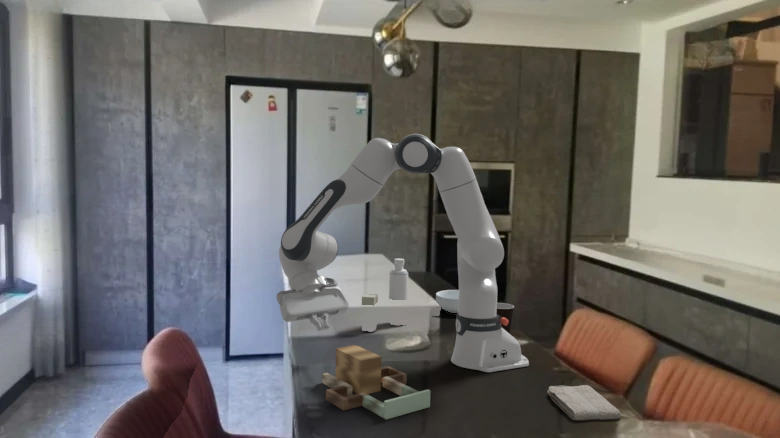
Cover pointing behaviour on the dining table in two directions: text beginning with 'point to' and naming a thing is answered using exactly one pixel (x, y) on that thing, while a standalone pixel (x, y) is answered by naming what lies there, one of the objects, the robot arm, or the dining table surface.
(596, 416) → the washcloth
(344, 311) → the robot arm
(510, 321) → the coffee mug
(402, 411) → the end wall
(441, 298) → the cereal bowl
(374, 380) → the block
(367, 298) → the skincare box
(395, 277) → the white bottle
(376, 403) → the lane
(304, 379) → the dining table surface
